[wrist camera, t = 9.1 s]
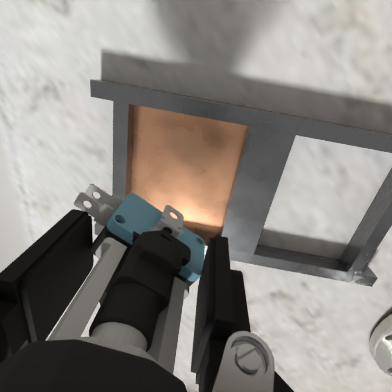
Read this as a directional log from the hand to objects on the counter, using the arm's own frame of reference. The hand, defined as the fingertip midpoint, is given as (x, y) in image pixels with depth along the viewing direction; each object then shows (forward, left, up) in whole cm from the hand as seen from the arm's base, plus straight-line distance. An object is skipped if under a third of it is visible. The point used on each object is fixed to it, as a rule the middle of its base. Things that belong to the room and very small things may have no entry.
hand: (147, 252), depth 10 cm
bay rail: (-6, 0, -9) cm, 11 cm away
